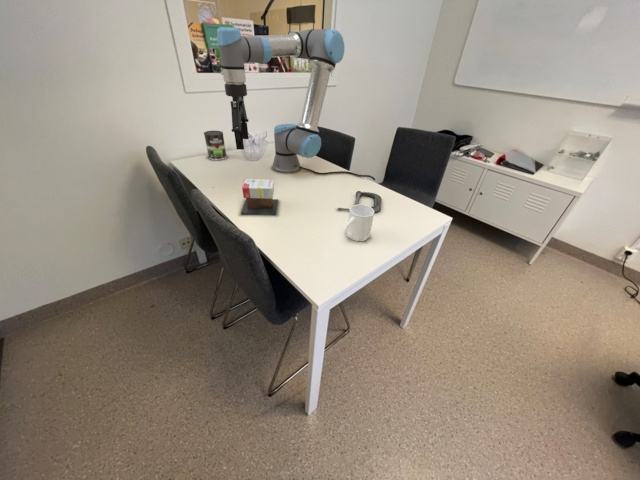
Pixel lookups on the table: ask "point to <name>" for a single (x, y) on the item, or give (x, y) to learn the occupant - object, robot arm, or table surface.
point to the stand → (260, 206)
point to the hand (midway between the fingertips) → (243, 143)
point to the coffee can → (215, 145)
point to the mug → (359, 222)
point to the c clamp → (377, 198)
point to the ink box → (258, 188)
